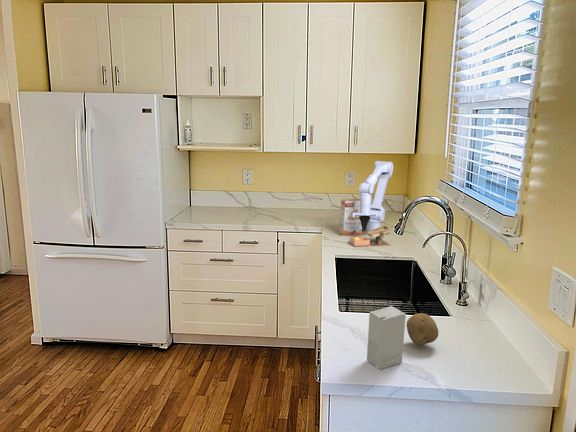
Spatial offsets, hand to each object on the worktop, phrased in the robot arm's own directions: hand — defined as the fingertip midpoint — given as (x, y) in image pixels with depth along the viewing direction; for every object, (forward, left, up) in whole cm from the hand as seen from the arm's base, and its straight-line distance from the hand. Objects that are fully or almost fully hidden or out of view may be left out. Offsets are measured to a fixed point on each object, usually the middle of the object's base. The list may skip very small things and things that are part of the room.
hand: (363, 229), depth 256 cm
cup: (+9, -6, -6) cm, 12 cm away
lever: (+5, +5, -1) cm, 7 cm away
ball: (+9, -7, -4) cm, 12 cm away
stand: (+9, 0, -7) cm, 11 cm away
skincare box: (+125, -45, -7) cm, 133 cm away
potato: (+118, -30, -7) cm, 122 cm away
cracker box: (-15, -1, -7) cm, 17 cm away
